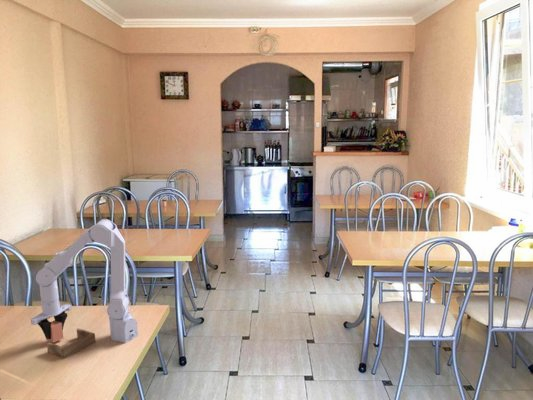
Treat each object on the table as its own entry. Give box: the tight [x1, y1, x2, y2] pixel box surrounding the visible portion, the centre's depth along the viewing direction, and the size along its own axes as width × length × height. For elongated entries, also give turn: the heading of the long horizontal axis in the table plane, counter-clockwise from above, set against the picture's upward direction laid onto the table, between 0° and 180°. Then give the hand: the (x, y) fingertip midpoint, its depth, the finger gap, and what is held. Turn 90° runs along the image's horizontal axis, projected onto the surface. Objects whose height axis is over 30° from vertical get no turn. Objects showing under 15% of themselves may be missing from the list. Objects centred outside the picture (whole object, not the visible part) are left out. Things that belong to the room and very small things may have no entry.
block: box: [45, 319, 64, 344], centre depth 162 cm, size 4×4×6 cm
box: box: [46, 328, 96, 359], centre depth 158 cm, size 9×13×4 cm
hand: (54, 335), depth 162 cm, fingers closed on block, 4 cm apart
